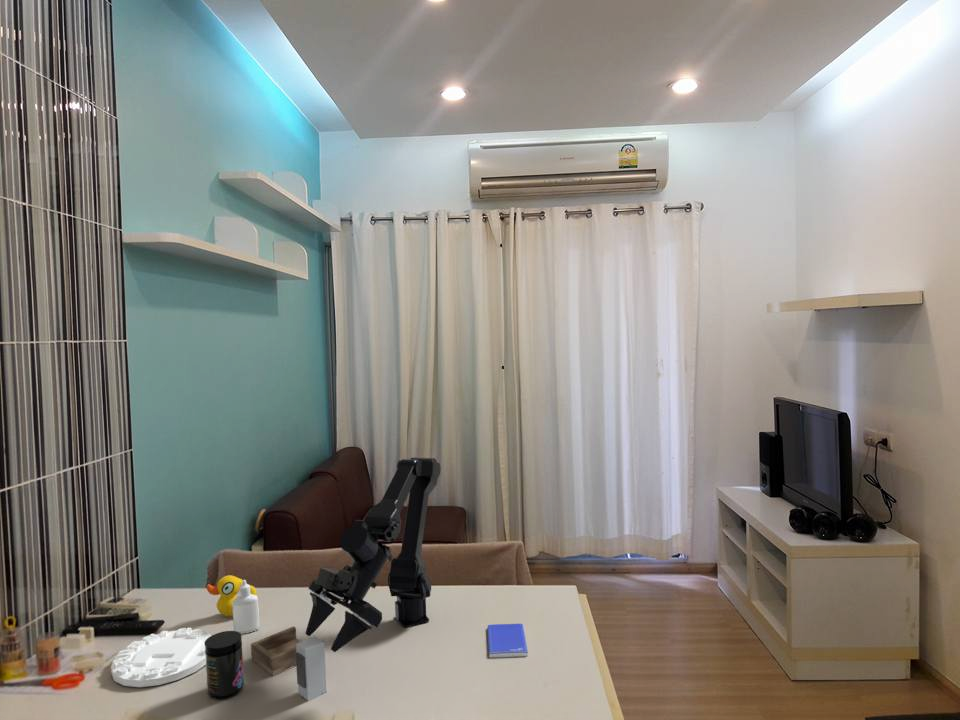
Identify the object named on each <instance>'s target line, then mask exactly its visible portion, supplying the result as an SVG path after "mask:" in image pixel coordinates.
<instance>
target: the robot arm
mask: <svg viewBox="0 0 960 720" xmlns="http://www.w3.org/2000/svg"><path fill="white" fill-rule="evenodd" d="M441 470H442V469H441V463H440V462H438V461H437V459H436V458H434V457H415V456H414V457H413V456H412V457H410V459H408V458H407V459H406V458H402V459H399V460H398V461H397V464H396V471H395V473H394V475H393V477H392V479H391V480H390V483H389V484H388V486H387V489H386V490H385V493H384V495H383V497H381V500H380V501H379V502H378V503H377V504H374V505H373V506H372V507H370V509H369V510H368V512H367V513H366V515H365V516H364V518H363V519H362V520H361V519H355V520H354V522H353V524H352V525H351V526H348V527H347V528H346V529H345V530H344V531H343V532H342V533H341V535H340V536H339V546H340V548H341V549H342V550H343V551H344V553H346V554H347V555H348V556H349V557H350V558H351V559H352V560H353V562H352V564H351V565H347V564H346V565H345V566H343V567H342V569H340V570H337V569H332V568H327V567H319V571H318V572H317V577H316V579H314V580H312V582H311V584H310V585H309V587H308V588H307V589H308V590H309V591H311V592H310V593H309V596H311V600H312V608H311V613H310V615H309V620H308V623H307V627H306V630H305V635H306V636H308V637H310V636H312V635H313V634H314V633H315V632H316V631H317V630H318V629H319V628H320V627H321V626H322V624H323V623H324V622H325V621H326V620H327V619H328V618H329V617H330V615H331V614H332V613H334V611H335V610H336V607H334V606H335V605H337V604H338V605H341V606H343V607H344V608H347V609H348V610H349V611H347V610H345V611H344V623H343V624H342V626H341V628H340V629H339V631H338V634H337V635H336V637H335V639H334V641H333V644H332V646H331V647H330V651H332V652H334V653H336V652H337V651H339V650H340V649H342V648H343V647H344V646H346V645H347V644H348V643H350V642H352V640H354V639H355V638H357V637H358V636H360V635H362V634H363V633H364V632H366V631H368V630H369V631H371V630H372V629H373V628H376V629H377V628H378V627H379V626H380V624H381V622H382V620H383V612H381V611H380V610H379V609H378V608H376V607H375V606H373V605H372V604H371V603H370V602H368V601H366V600H364V598H365V597H366V596H367V593H368V592H369V590H370V589H371V588H372V589H374V590H375V588H376V587H377V585H378V584H377V583H376V582H375V581H376V579H377V577H378V575H379V574H380V572H381V571H382V569H383V567H384V565H385V564H386V563H387V561H388V562H390V563H391V564H390V571H389V573H388V576H387V585H388V589H389V593H390V597H396V601H394V613H395V614H394V616H395V619H396V620H397V622H399V624H400V625H401V627H402V628H408V627H411V626H415V625H419V624H423V623H424V624H425V623H427V622H430V618H429V617H428V616H427V598H430V597H431V592H432V581H431V580H430V579H429V577H428V576H427V574H426V571H427V569H426V564H425V562H424V560H423V557H422V546H423V541H424V533H425V532H424V531H425V525H426V517H427V509H428V503H429V497H430V494H431V493H432V492H433V490H434V489H435V487H436V486H437V484H438V479H439V477H440V475H441ZM407 499H408V501H407ZM406 501H407V508H406V515H405V520H404V529H403V535H402V543H401V548H400V553H398V555H397V556H396V558H395V557H394V558H393V554H392V547H390V546H388V545H385V544H382V543H381V542H390V543H391V542H394V541H395V540H396V539H397V537H398V536H399V535H400V532H401V528H402V527H401V525H402V520H401V519H402V518H401V512H402V510H403V507H404V505H405V503H406ZM378 541H379V542H378ZM350 611H351V612H352V613H351V612H350Z"/></svg>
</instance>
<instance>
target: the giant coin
mask: <svg viewBox="0 0 960 720" xmlns="http://www.w3.org/2000/svg"><path fill="white" fill-rule="evenodd" d="M210 636H212V634H210V633H208V632H206V630H205V629H199V628H198V629H197V628H195V629H192V627H187V628H186V627H182V628H178V630H171V631H168V630H162V631H160V633H158V634H155V633H151V634H149V635H147V636H144V637H142V639H141V640H134V641H132V642H131V643H129V645H127V646H126V648H125V649H123V650H119V652H118V654H117V656H115V658H113V660H112V663H111V665H110V671H111V672H110V673H111V676H112V678H113V681H114V682H115V683H118V684H120V685H122V686H124V687H133V688H134V687H135V688H145V687H153V686H155V687H156V686H161V685H164V684H168V683H171V682H175V681H178V680H181V679H183V678H184V677H187V676H189V675H192V674H194V673H196V672H198V671H199V670H200V669H202V668H203V667H204V666H206V657H205V641H206V639H207V638H209V637H210Z"/></svg>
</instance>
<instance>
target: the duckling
mask: <svg viewBox="0 0 960 720" xmlns="http://www.w3.org/2000/svg"><path fill="white" fill-rule="evenodd" d="M243 580H244V579H242V578H239V577H237V576H234V575H232V574H231V575H225V576H222V577H221V578H220V579H219V580H218V582H217V585H216V586H215V585H211V584H210V583H208V584H207V585H206V590H207V592H208V593H209V594H210V595H212V596H217V595H220V597H219V598H218V599H217V602H216V609H217V610H218V612H219V613H220V614H221V615H223V616H225V617H228V618H233V600H234V599H235V598H236V597H238V596H239V595H237V594H238V593H239V587H240V586H241V585H242V581H243ZM250 594H253V595H256V596H257V597H258V591H257V589H256V588H255V586H254V585H250Z"/></svg>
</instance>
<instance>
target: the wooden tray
mask: <svg viewBox="0 0 960 720" xmlns="http://www.w3.org/2000/svg"><path fill="white" fill-rule="evenodd" d="M296 628H297V627H296V626H291V627H289V628H286V629H284V630H282V631H279V632H276V633H273V634H271V635H269V636H266V637H264V638H261V639H259V640H256V641H254V642H251V643H250V651H251V652H250V653H251V660H252V661H253V662H254V661H255V662H254V663H256V664H257V665H258V666H259V665H260V666H259V667H261V668H262V669H263V670H265V671H266V672H269V674H270V675H271V676H272V675H273V676H272V677H275V676H277V675H279V674H281V673H283V672H285V671H287V670H286V669H288V668H290V667H292V666H294V665H296V653H297V652H296V644H297V643H299V642H302V640H299V639H298V638H297V629H296ZM294 667H295V666H294ZM292 668H293V667H292ZM290 669H291V668H290ZM284 670H285V671H284ZM288 670H289V669H288ZM282 671H283V672H282ZM280 672H281V673H280ZM278 673H279V674H278ZM276 674H277V675H276Z"/></svg>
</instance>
